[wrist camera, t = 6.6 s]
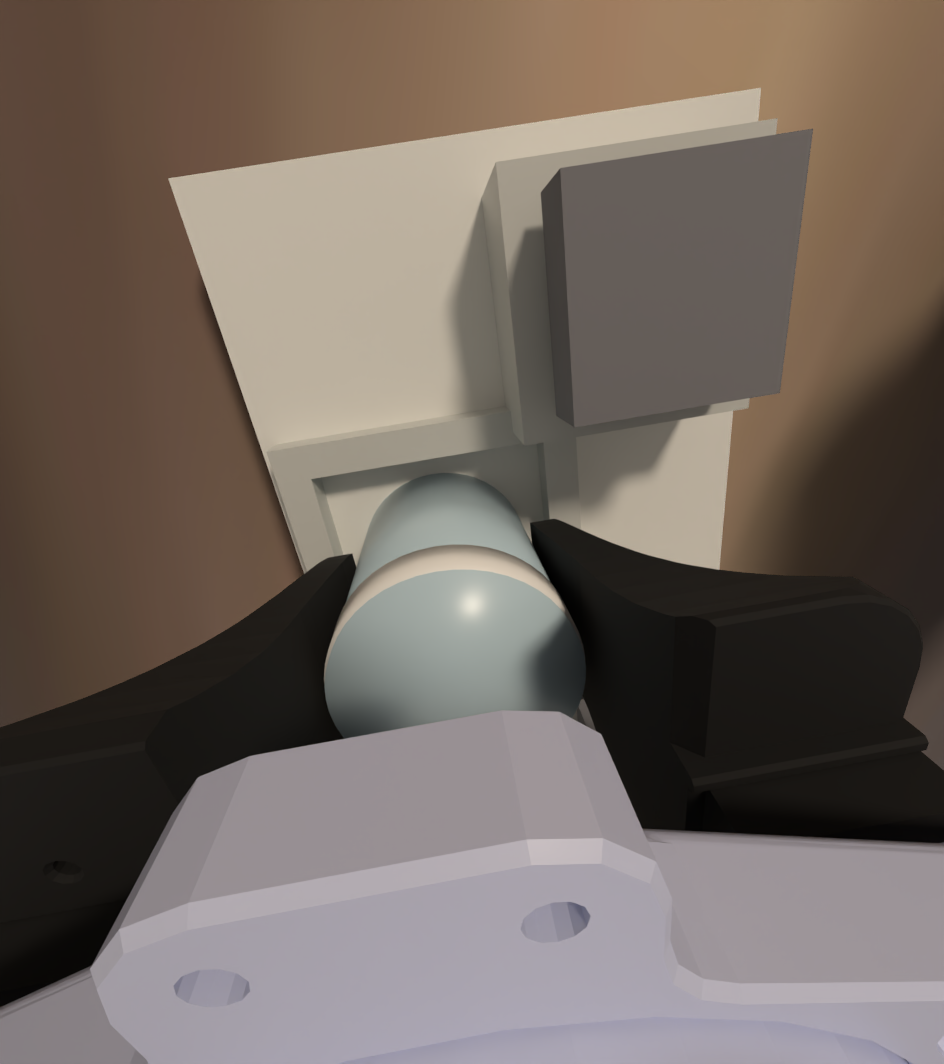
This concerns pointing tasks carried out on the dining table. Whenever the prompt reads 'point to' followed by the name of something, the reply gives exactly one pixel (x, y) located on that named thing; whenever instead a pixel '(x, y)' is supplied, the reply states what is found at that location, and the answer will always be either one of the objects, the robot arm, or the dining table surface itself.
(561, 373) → the plunger
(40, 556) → the dining table surface
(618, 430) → the housing
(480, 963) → the robot arm
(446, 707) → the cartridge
